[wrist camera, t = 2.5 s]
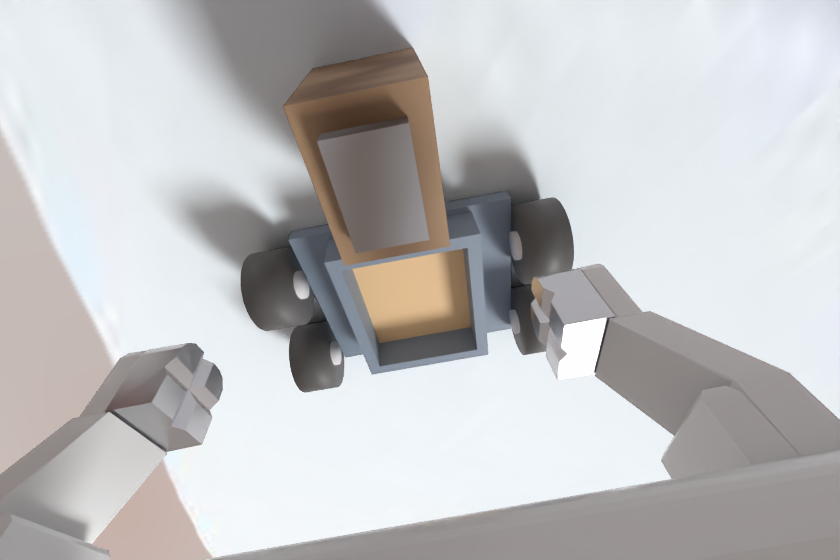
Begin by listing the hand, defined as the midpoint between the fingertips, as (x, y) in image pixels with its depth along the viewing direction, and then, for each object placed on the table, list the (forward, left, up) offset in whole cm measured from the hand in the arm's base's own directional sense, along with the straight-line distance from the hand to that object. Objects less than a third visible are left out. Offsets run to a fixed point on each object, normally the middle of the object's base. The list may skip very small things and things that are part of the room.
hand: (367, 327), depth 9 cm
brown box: (0, 0, -14) cm, 14 cm away
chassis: (0, +11, -14) cm, 18 cm away
